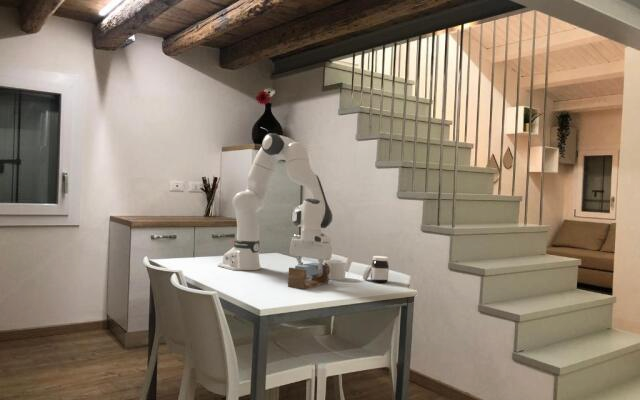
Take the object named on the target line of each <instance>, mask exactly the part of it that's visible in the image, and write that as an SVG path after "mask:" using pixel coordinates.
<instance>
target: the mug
mask: <svg viewBox="0 0 640 400" xmlns="http://www.w3.org/2000/svg"><path fill="white" fill-rule="evenodd" d="M323 265H328V266H329V281H330V280H331V281H332V280H334V281H341V279H343V280H345V279H346V271H347V270H346V269H347V261H346V260H342V259H330V260H324V262H323Z"/></svg>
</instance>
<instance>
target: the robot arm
mask: <svg viewBox="0 0 640 400" xmlns="http://www.w3.org/2000/svg"><path fill="white" fill-rule="evenodd" d="M306 148H307V147H306V145H304V143H302V142H299V141H297V140H293V139H292V138H290V137H288V136H284V135H279V134H278V133H274V132H273V133H271V132H270V133H267V134H266V135H265V136H264V137H263V139H262V141H261V147H260V149H259V150H258V152H257V153H256V155H255V157H254V159H253V162H252V164H251V167H250V170H249V172H248V174H247V183H246V189H245V190H241V191H239V192H238V193H236V194H235V195H234V197H232V207H233V209H234V211H235V212H234V213H235V219H236V240H232V243H233V247H232V248H231V249H229V250H228V251H227V252H225V253H224V255H222V262H220V263H218V264H217V267H220V268H224V269H228V270H232V271H256V270H261V267H262V266H261V263H260V253H259V250H260V240H259V239H260V224H259V220H258V215H257V214H258V212H259V211H261V210H262V209H263V208H264V207H265V204H266V196H267V193H268V192H267V191H268V186H269V185H270V181H271V178H272V176H273V173H274V171H275V168H276V166H277V164H278V162H279V161H283V162H285V169H286V174H287V177H288V179H289V180H290V181H291V182H294V183H295V184H297V185H300V186H302V187H305V188H306V189H308V190H309V191H310V192H311V194H312V195H313V198H305V199H304V200H303V201H302V204H300V205H296V206H295V207H294V208H293V209H292V210H291V222H292V224H293V225H294V226H296V227H300V228H301V229H300V234H293V235H292V236H291V238H290V239H291V241H290V247H289V254H290V256H294V257H296V262H297V263H298V265H303V264H304V262H302V259H303V258H307V259H314V260H317V261H318V262H317V263H319V264H318V265H316V269H317V270H320V269H321V265H322V264H324V261H325V260H331V259H332V255H333V254H332V253H333V251H332V250H333V249H332V244H331V240H332V237H331V236H329V235H327V234H325V233H323V232H322V229H326V228H328V227H329V225H330V224H331V223H332V221H333V212H332V210H331V208H330V205H329V204H328V201H327V198H326V195H325V192H324V189H323V186H322V183H321V180H320V177H319V175H317V174H316V173H315V172H314V171H313V169H312V167H311V165H310V159H309V154H308V152H307V151H308V150H307V149H306Z"/></svg>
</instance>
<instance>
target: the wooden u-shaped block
mask: <svg viewBox="0 0 640 400" xmlns="http://www.w3.org/2000/svg"><path fill="white" fill-rule="evenodd" d="M310 276H311V279H309V276H306V270H304V269H297V268H295V267H289V268H288V279H287V280H288V281H287V287H289V288H295V289H300V290H307V289H310V288H311V289H312V288H315V287H319V286H320V287H321V286H324V285H328V284H329V281H330V279H329V266H328V265H324V264H323V273H320V274H315V275H310Z"/></svg>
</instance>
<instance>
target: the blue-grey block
mask: <svg viewBox="0 0 640 400" xmlns="http://www.w3.org/2000/svg"><path fill="white" fill-rule="evenodd" d="M318 264H319V262H310V263H303V265H295V267H294V268H297V269H304V270H306V276H308V277H309V276H310V275H315V274H320V273H323V265H324V263H322V265H321V269H320V270H317V269H316V265H318Z"/></svg>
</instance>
